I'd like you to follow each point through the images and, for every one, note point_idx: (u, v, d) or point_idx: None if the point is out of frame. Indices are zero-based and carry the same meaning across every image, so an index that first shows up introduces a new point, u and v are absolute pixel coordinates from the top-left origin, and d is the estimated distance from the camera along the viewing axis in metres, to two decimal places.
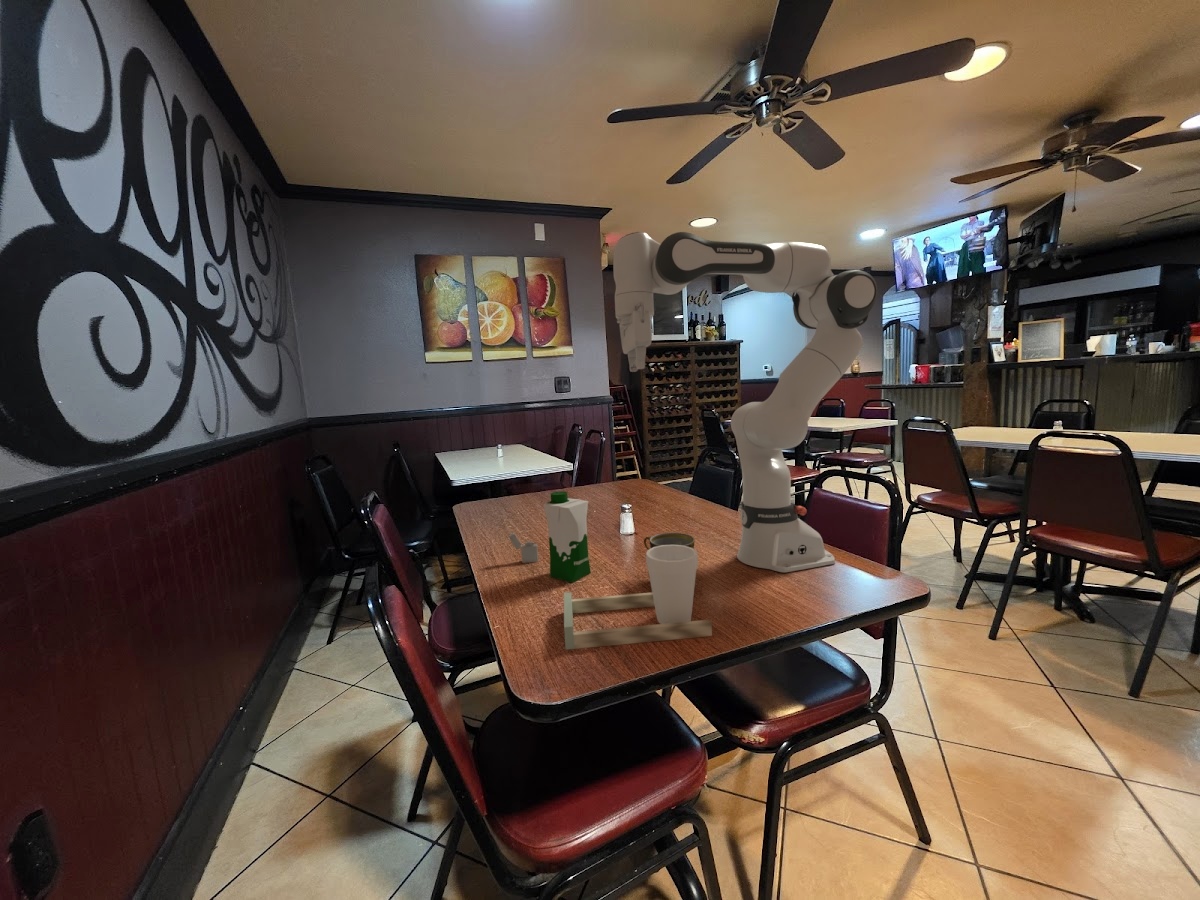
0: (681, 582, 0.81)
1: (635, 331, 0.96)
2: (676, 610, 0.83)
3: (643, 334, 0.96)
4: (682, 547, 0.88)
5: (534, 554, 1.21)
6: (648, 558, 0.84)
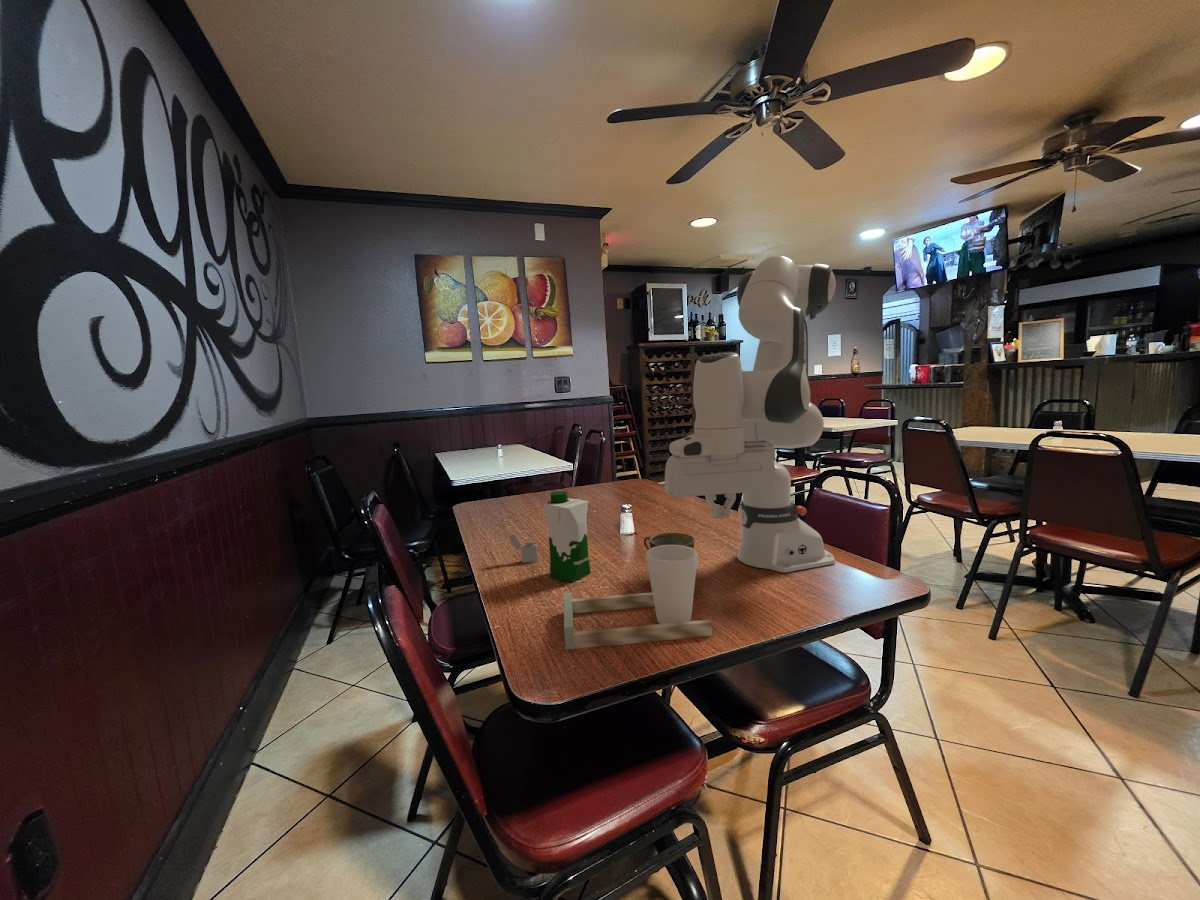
0: (681, 582, 0.81)
1: (775, 475, 0.83)
2: (676, 610, 0.83)
3: None
4: (682, 547, 0.88)
5: (534, 554, 1.21)
6: (648, 558, 0.84)
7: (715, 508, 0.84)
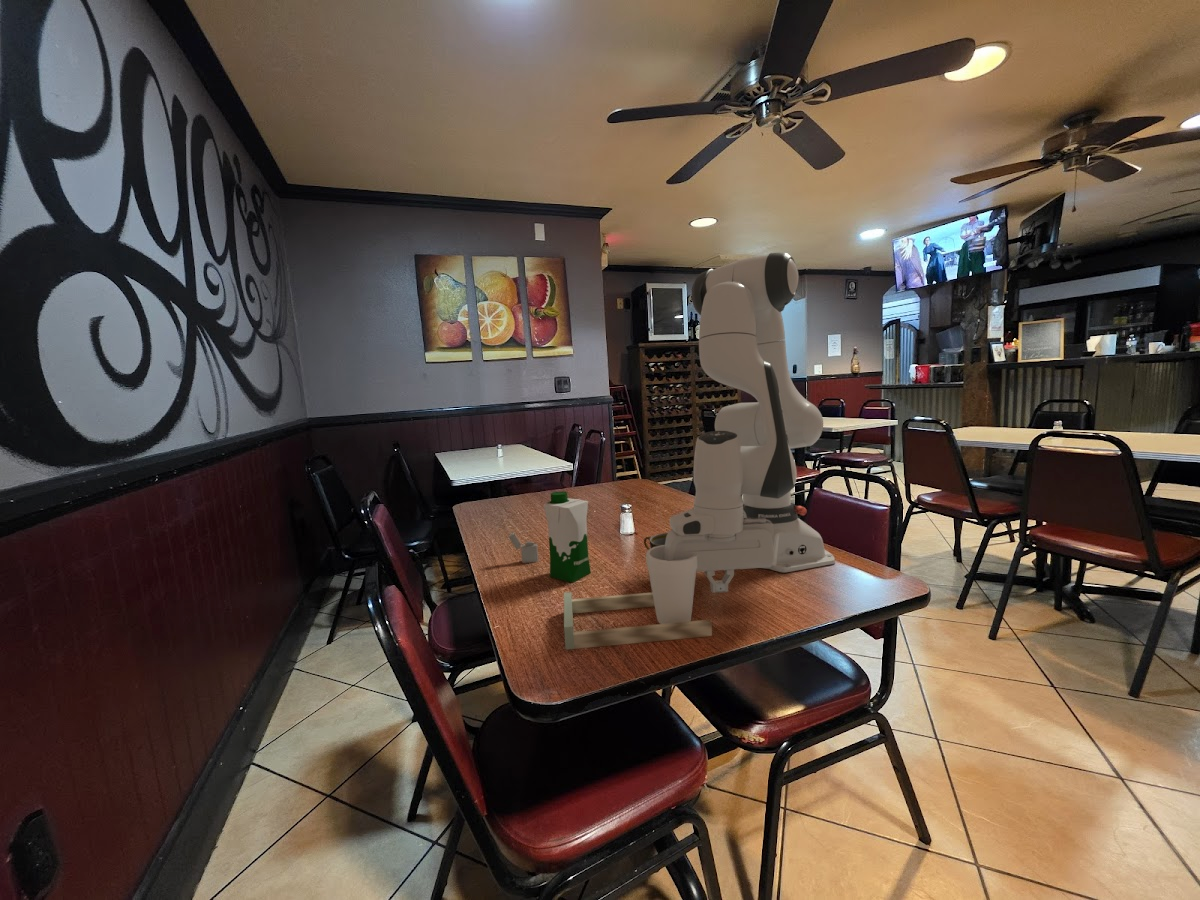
0: (681, 582, 0.81)
1: (773, 552, 0.85)
2: (676, 610, 0.83)
3: None
4: None
5: (534, 554, 1.21)
6: (648, 558, 0.84)
7: (713, 583, 0.85)
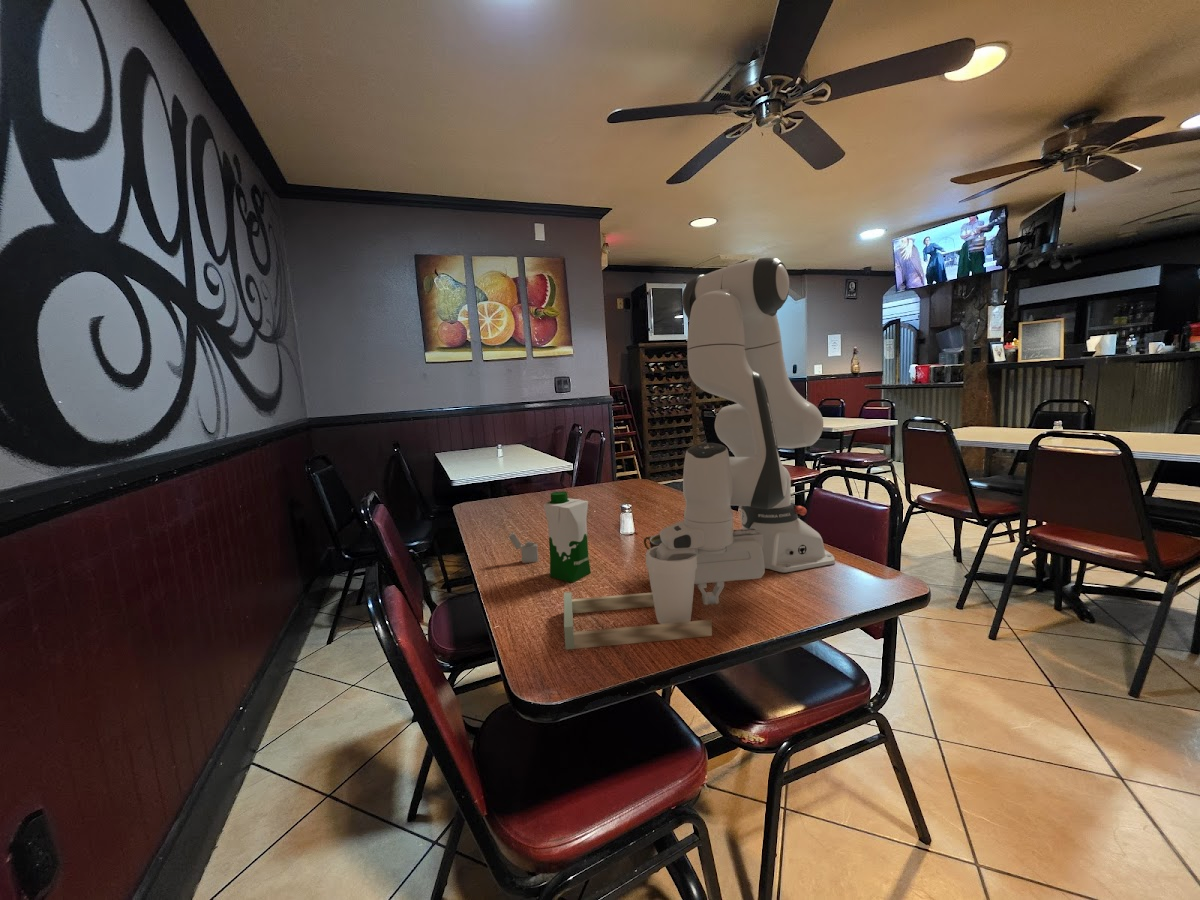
0: (681, 582, 0.81)
1: (763, 563, 0.85)
2: (676, 610, 0.83)
3: None
4: None
5: (534, 554, 1.21)
6: (648, 558, 0.84)
7: (705, 595, 0.85)
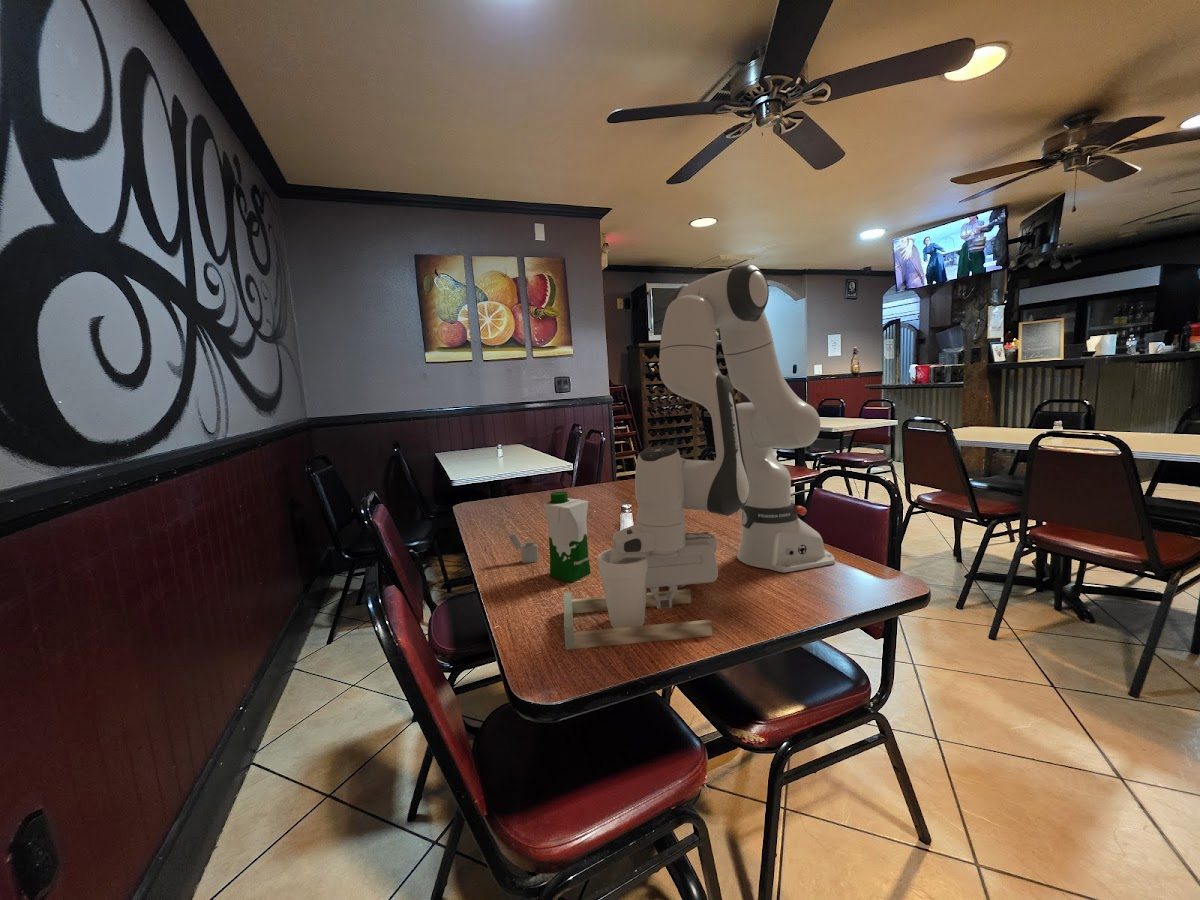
0: (628, 585, 0.81)
1: (716, 567, 0.84)
2: (625, 613, 0.82)
3: None
4: None
5: (534, 554, 1.21)
6: (598, 560, 0.84)
7: (658, 599, 0.85)
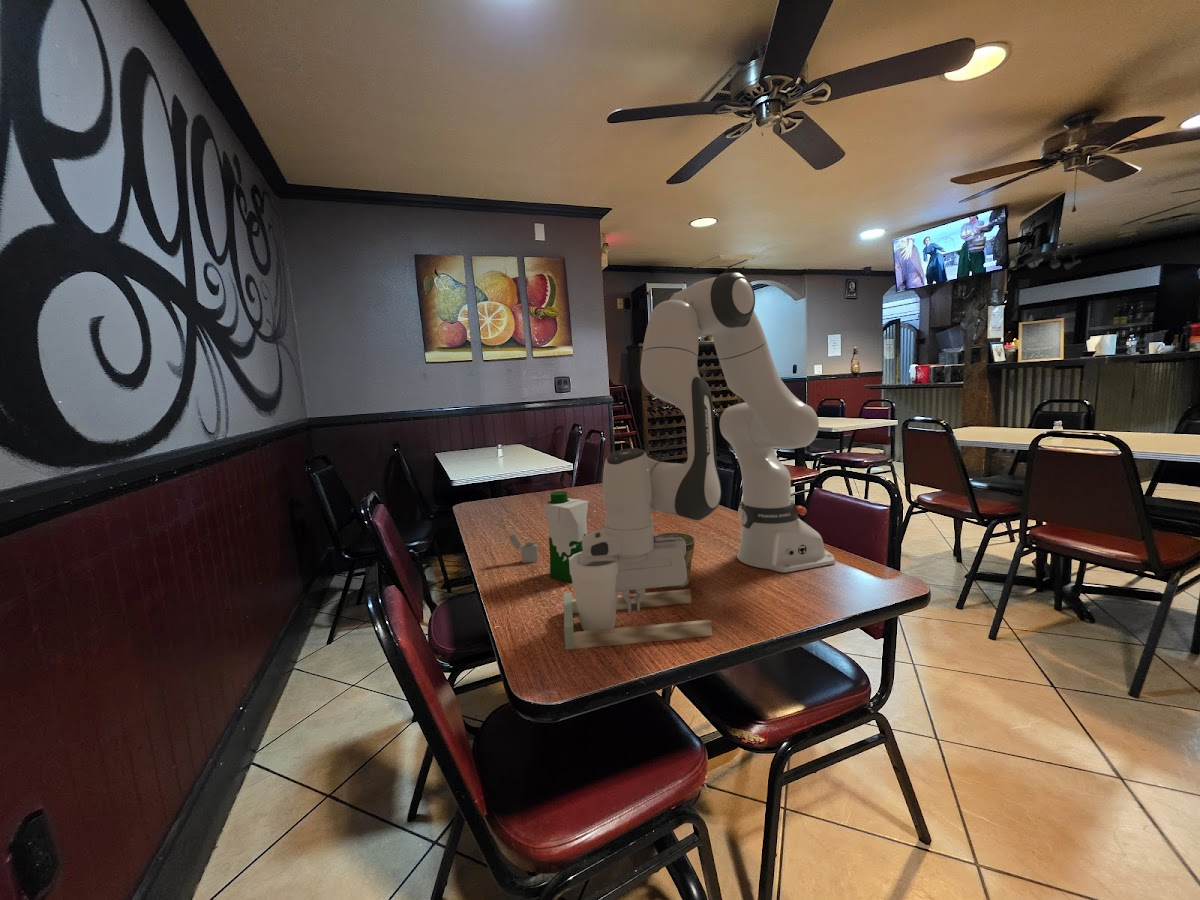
0: (598, 588, 0.81)
1: (685, 570, 0.84)
2: (594, 616, 0.82)
3: None
4: None
5: (534, 554, 1.21)
6: (569, 563, 0.84)
7: (629, 603, 0.84)
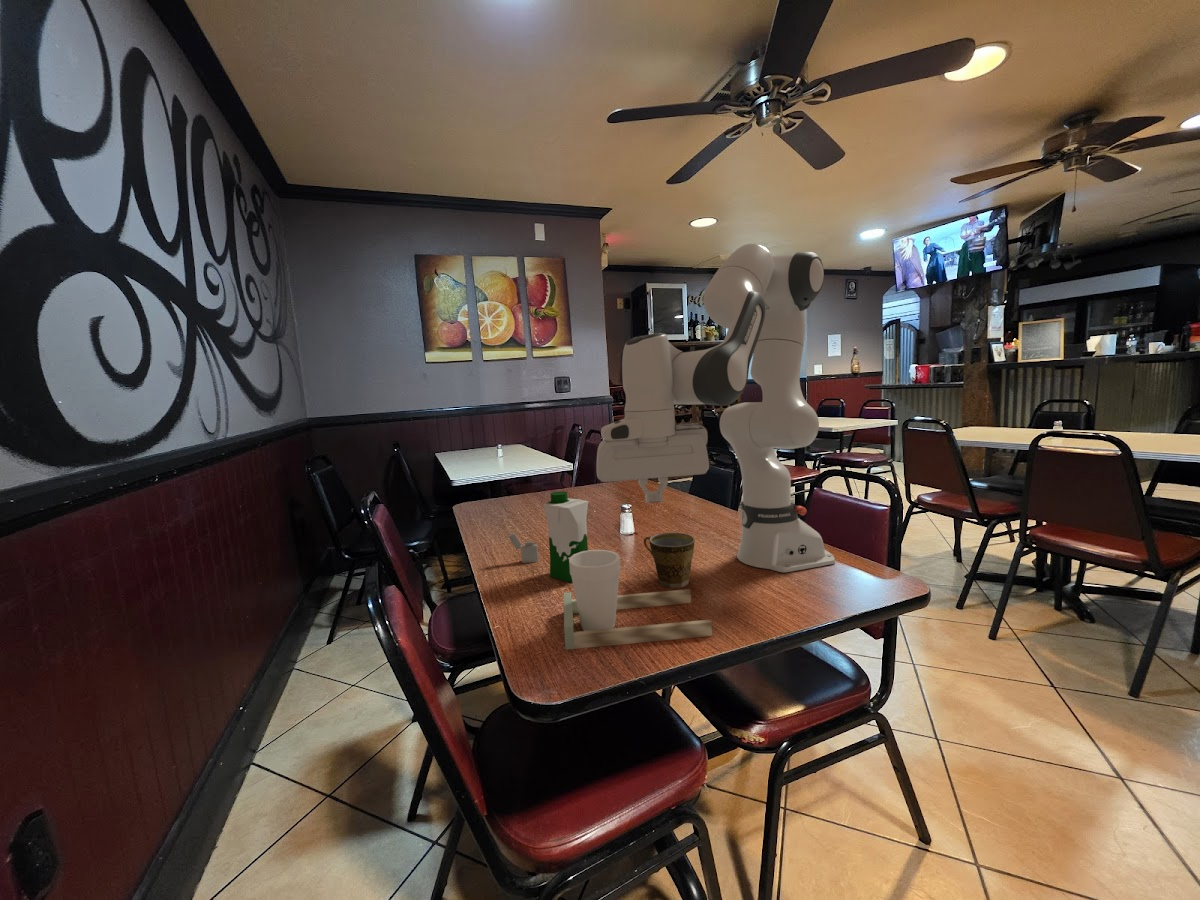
0: (598, 588, 0.81)
1: (707, 458, 0.82)
2: (594, 616, 0.82)
3: None
4: (609, 553, 0.87)
5: (534, 554, 1.21)
6: (569, 563, 0.84)
7: (647, 492, 0.83)
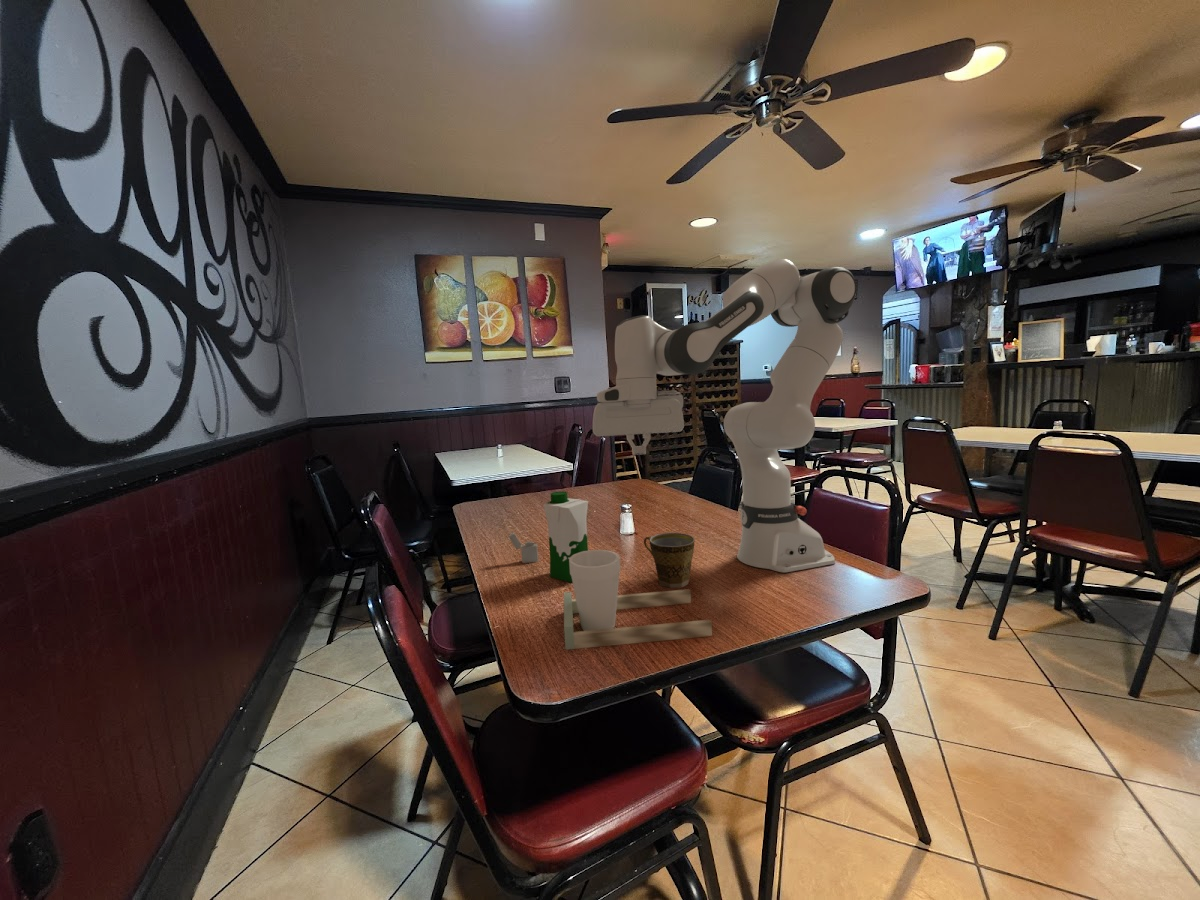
0: (598, 588, 0.81)
1: (682, 418, 1.01)
2: (594, 616, 0.82)
3: None
4: (609, 553, 0.87)
5: (534, 554, 1.21)
6: (569, 563, 0.84)
7: (633, 446, 1.02)
